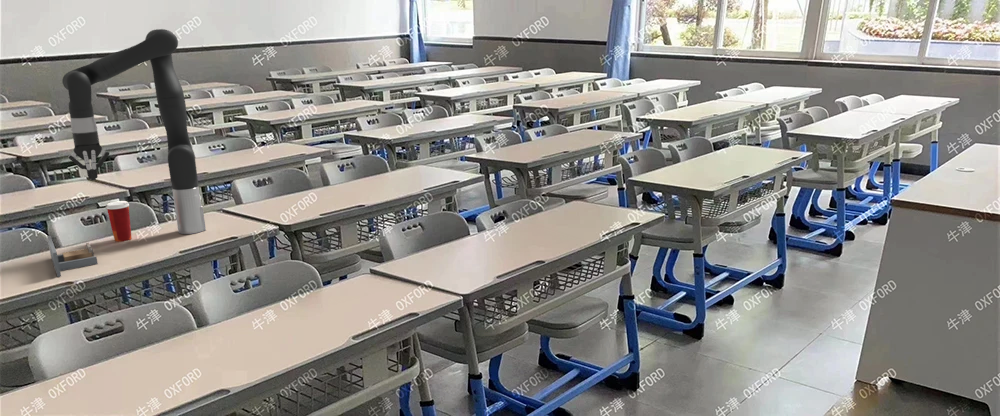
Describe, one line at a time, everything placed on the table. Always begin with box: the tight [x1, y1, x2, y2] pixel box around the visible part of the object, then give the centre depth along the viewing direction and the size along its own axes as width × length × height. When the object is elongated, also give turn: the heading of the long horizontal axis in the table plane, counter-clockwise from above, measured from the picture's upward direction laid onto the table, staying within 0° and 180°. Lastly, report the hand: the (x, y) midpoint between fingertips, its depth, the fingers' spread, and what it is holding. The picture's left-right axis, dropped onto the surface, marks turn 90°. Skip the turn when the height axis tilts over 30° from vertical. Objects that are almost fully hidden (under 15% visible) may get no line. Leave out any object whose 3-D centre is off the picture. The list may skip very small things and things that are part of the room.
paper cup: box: [105, 200, 132, 243], centre depth 261 cm, size 8×8×14 cm
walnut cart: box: [62, 242, 94, 262], centre depth 237 cm, size 8×6×6 cm
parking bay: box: [46, 235, 98, 278], centre depth 235 cm, size 12×24×8 cm, turn 36°
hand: (93, 179), depth 246 cm, fingers closed
